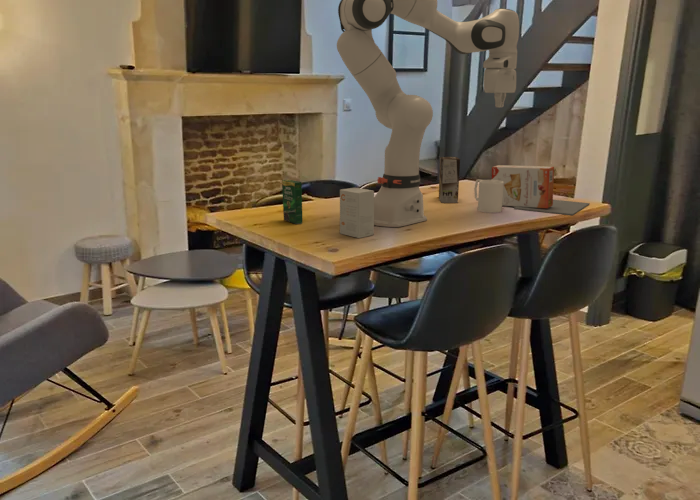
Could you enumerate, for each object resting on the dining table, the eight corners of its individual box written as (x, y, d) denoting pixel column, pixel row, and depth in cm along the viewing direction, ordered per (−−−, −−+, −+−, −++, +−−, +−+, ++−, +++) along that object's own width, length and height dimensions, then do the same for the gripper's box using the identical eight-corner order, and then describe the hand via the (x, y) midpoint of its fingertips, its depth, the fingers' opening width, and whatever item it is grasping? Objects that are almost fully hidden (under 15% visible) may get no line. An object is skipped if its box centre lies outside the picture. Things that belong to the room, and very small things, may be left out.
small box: (374, 235, 178) (374, 190, 174) (358, 238, 174) (358, 192, 170) (355, 230, 184) (355, 187, 180) (339, 233, 179) (339, 189, 176)
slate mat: (572, 215, 206) (572, 214, 205) (513, 209, 216) (514, 207, 216) (589, 204, 225) (589, 203, 225) (534, 199, 236) (535, 197, 235)
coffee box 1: (282, 220, 197) (281, 179, 194) (290, 219, 199) (289, 178, 195) (295, 224, 191) (294, 182, 187) (303, 223, 192) (302, 181, 189)
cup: (482, 205, 223) (483, 177, 220) (506, 211, 213) (508, 182, 210) (465, 207, 218) (466, 179, 216) (489, 213, 209) (491, 184, 206)
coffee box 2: (458, 203, 227) (460, 159, 223) (441, 202, 227) (442, 159, 223) (454, 198, 236) (457, 156, 232) (438, 198, 236) (439, 156, 232)
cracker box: (548, 208, 212) (490, 205, 224) (553, 206, 216) (496, 202, 228) (549, 167, 208) (490, 166, 220) (554, 166, 213) (497, 165, 225)
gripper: (504, 64, 208) (501, 106, 211) (481, 62, 191) (478, 107, 195) (522, 64, 204) (519, 107, 208) (500, 61, 188) (497, 108, 191)
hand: (499, 107), depth 201 cm, fingers closed
